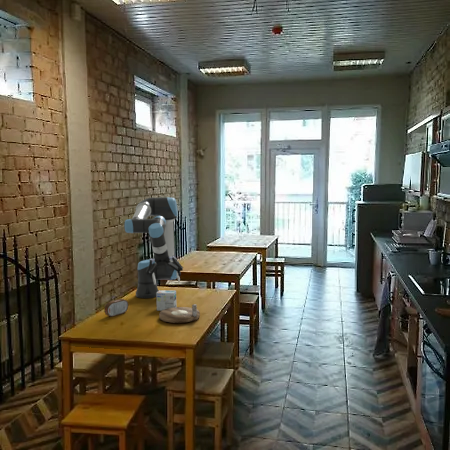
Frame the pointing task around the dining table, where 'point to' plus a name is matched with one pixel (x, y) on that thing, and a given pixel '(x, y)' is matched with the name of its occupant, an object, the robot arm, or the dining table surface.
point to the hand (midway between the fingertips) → (167, 281)
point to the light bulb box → (165, 299)
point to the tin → (116, 307)
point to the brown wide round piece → (180, 314)
